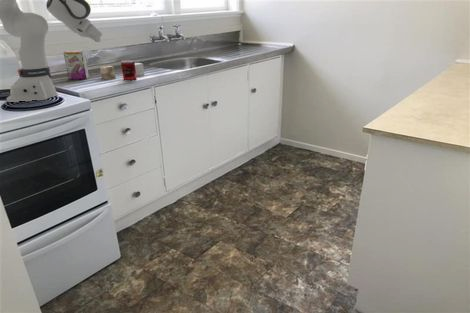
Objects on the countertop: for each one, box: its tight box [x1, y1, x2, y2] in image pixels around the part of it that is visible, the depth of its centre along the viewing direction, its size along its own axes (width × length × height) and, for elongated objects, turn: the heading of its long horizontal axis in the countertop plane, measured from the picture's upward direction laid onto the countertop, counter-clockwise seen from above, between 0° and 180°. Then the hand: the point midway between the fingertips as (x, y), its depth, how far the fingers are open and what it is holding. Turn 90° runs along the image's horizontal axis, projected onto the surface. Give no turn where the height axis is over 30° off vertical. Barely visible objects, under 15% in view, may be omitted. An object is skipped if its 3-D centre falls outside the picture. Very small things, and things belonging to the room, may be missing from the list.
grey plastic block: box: [135, 62, 145, 77], centre depth 226 cm, size 6×6×7 cm
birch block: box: [99, 65, 116, 80], centre depth 218 cm, size 6×6×7 cm
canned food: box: [120, 59, 137, 81], centre depth 211 cm, size 8×8×11 cm
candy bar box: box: [63, 50, 90, 80], centre depth 217 cm, size 11×5×16 cm, turn 92°
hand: (98, 41), depth 191 cm, fingers closed
